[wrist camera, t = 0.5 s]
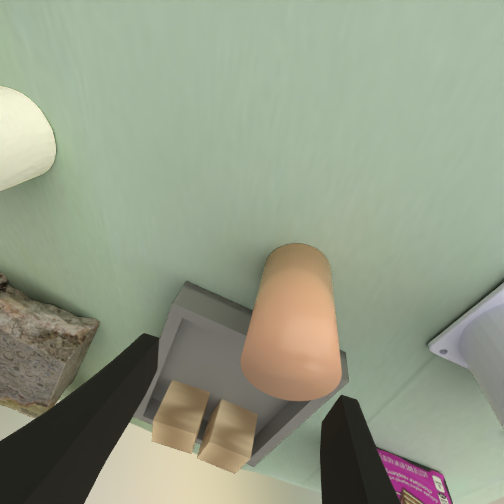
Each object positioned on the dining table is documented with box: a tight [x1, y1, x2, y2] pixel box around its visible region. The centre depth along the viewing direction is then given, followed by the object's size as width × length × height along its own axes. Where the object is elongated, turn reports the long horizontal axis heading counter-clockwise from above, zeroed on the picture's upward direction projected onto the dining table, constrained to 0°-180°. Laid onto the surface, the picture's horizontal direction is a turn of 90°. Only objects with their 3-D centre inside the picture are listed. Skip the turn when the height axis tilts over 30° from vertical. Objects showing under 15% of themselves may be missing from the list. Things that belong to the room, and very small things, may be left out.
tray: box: [133, 281, 349, 467], centre depth 26 cm, size 14×18×3 cm
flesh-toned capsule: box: [240, 243, 342, 401], centre depth 16 cm, size 5×5×8 cm
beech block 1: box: [152, 380, 210, 454], centre depth 27 cm, size 4×4×4 cm
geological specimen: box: [0, 273, 100, 418], centre depth 27 cm, size 11×6×15 cm
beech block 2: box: [197, 399, 258, 474], centre depth 28 cm, size 4×4×4 cm
